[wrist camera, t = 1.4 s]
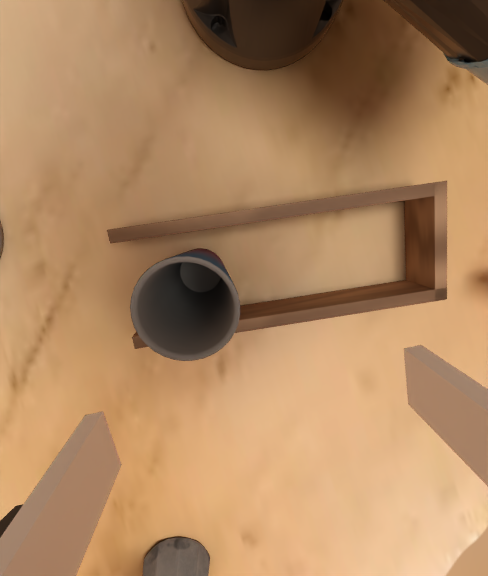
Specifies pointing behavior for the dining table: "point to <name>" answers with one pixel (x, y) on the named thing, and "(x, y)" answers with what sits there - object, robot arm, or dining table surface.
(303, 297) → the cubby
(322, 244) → the dining table surface
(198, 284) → the cup
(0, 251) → the coaster
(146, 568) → the moka pot
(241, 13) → the robot arm
